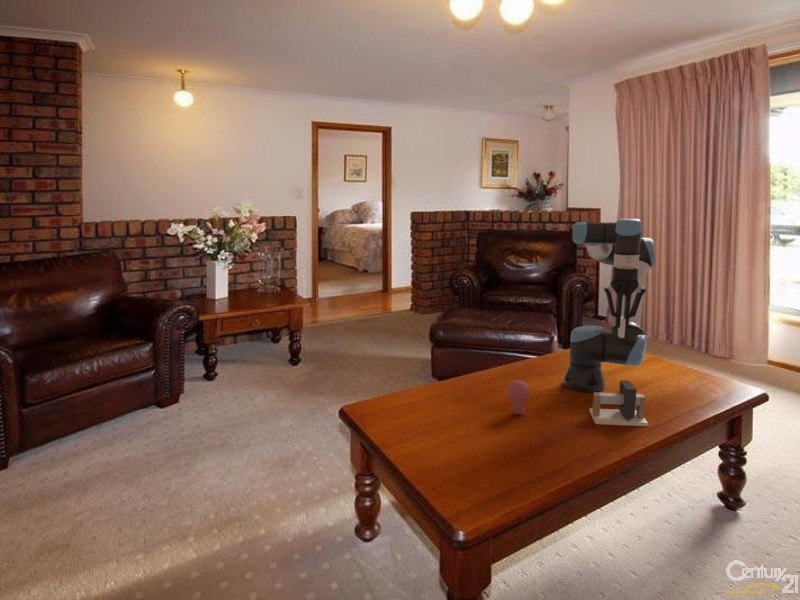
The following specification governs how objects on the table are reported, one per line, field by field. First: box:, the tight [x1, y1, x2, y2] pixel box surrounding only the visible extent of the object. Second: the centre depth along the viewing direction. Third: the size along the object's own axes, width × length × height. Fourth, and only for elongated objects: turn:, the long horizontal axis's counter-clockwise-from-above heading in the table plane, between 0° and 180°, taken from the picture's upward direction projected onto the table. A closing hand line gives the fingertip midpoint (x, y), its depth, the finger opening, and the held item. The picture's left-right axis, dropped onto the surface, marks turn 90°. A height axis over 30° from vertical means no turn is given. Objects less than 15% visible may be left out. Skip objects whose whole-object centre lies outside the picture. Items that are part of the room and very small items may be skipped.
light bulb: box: [507, 379, 530, 415], centre depth 179 cm, size 7×7×12 cm
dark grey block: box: [617, 379, 637, 419], centre depth 173 cm, size 3×8×10 cm, turn 172°
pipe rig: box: [589, 391, 649, 427], centre depth 174 cm, size 16×10×9 cm, turn 82°
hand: (621, 336), depth 176 cm, fingers closed
